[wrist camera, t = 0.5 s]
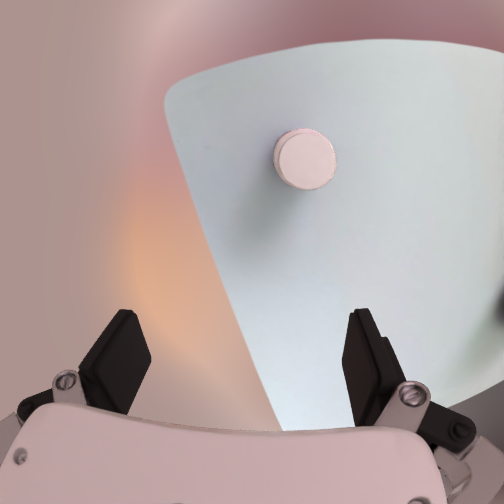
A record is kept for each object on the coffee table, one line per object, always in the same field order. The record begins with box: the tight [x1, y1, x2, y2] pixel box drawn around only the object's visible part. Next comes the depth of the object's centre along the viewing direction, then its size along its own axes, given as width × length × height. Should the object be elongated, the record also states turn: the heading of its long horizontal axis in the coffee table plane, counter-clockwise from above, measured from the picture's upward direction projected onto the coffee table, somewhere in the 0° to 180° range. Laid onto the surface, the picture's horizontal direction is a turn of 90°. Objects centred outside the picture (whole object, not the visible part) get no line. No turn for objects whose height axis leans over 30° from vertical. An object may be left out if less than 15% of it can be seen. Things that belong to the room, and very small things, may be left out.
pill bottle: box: [273, 128, 337, 190], centre depth 22 cm, size 5×5×8 cm
